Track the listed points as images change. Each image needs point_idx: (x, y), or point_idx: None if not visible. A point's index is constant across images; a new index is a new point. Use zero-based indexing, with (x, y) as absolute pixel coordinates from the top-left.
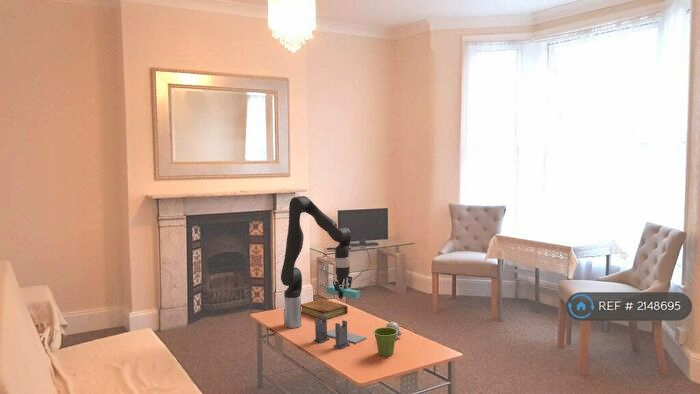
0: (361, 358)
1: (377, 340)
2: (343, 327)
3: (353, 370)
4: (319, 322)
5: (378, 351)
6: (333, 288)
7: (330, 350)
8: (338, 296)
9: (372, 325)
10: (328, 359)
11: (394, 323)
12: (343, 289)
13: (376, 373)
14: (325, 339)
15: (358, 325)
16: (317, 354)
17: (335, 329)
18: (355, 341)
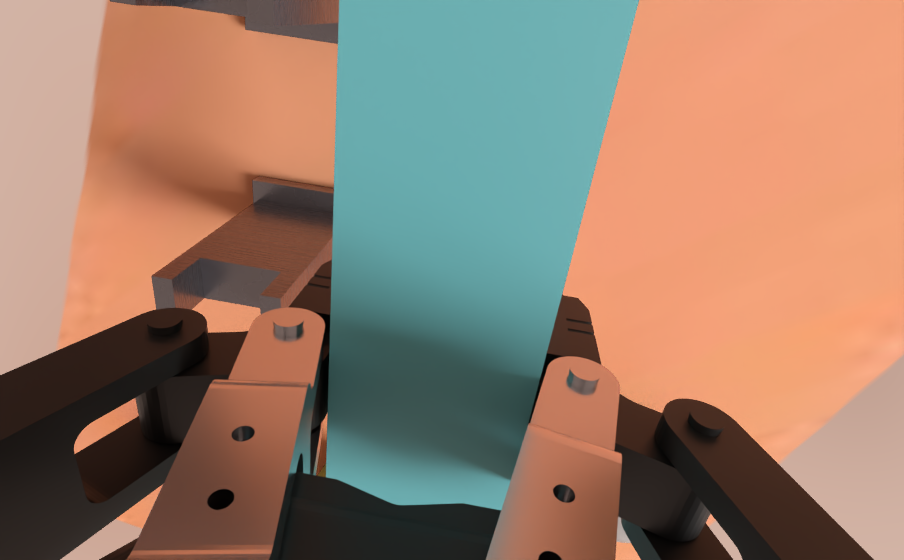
0: None
1: None
2: (249, 305)
3: (95, 427)
4: (160, 4)
5: (325, 465)
6: (341, 82)
7: (202, 188)
8: (323, 265)
9: (886, 201)
10: (91, 257)
11: (621, 539)
12: (384, 444)
13: (147, 510)
14: (314, 37)
15: (860, 75)
16: (90, 147)
17: (188, 250)
18: None
